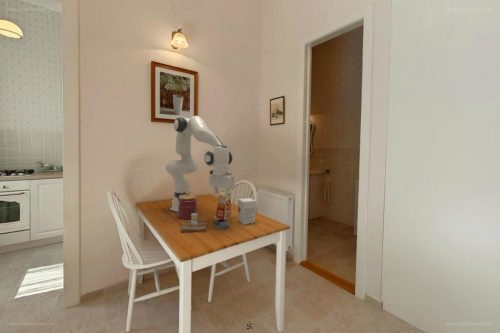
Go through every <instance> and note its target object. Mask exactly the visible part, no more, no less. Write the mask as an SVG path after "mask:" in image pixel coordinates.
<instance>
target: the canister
mask: <svg viewBox="0 0 500 333" xmlns="http://www.w3.org/2000/svg"><path fill="white" fill-rule="evenodd" d="M179 198H180V199H179V200H178V202H179V205H178V213H177V214H178V215H177V216H178V219H180V220H191V214H192V213H197V214H198V203H197V202H198V199H197V195H195V194H192V193H191V192H190V193H189V192H187V193H186V194H185V195H182V196H180V197H179Z"/></svg>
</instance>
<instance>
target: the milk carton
mask: <svg viewBox="0 0 500 333" xmlns="http://www.w3.org/2000/svg"><path fill="white" fill-rule="evenodd" d="M226 191H227V190H224V189H223V188H222V189H220V191H219V194H218V197H217V201H216V202H217V203H216V208H215V214H214V215H215V216H214V219H215V220H218V219H225V220H228V221H229V220H230V219H232V201H231V191H230V192H229V196H225V193H226Z"/></svg>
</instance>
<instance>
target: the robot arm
mask: <svg viewBox="0 0 500 333" xmlns="http://www.w3.org/2000/svg"><path fill="white" fill-rule="evenodd" d="M173 128H174V131H175V132H176V138H175V153H176V154H177V155H178V156H180V159H173V160H170V161H168V162H167V163H166V164H165V170H166V173H167V174H169V175H170V176H171V177H172V179H173V182H174V193H173V196H174V198H172V200H171V202H172V203H171V204H172V205H171V207H170V208H169V211H173V212H178V205H179V202H178V200H179V199H180V198H179V197H180V196H182V195H185V194H186V193H187V192H189V193H190V194H191V190H190V189H191V186H190V184H191V183H190V181H189V180H188V179H187V178H186V177H185V174H187V175H189V174H193V173H195V172H197V170H198V168H199V167H198V163H197V162H196V161H195V160H194V158H193V156H192V149H191V148H192V136H193V137H194V139H195V140H196V141H198V142H201V143H205V144H208V145H210V146H212V147H213V148H212V149H210V150H208V151H207V152H205V154H204V158H203V159H204V162H205V164H206V165H207V166H211V167H214V168H213V169H211V170H209V171H208V172H209V173H208V174H209V180H208V181H209V186H210V187H213V189H214V193H215V195H219V194H220V191H219V190H218V188H222V189H225V191H226V193H225V196H229V192H231V190H234V189H235V187H236V184H235V177H234V174H233V173H232V172H230V165H231V163H232V162H233V155H232V153H231V152H230V150H229V147H228V146H227V145H224V144H223V142H222V141H221V139H219V137H218V136H217V135H216V134H214V132H212V131H211V130H210V128H208V125H207V124H206V122H205V121H204V119H203V118H202V117H201V116H199V115H193V116H191V117H189V118H188V117H177V118H175V120H174V121H173Z"/></svg>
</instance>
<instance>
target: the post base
mask: <svg viewBox="0 0 500 333" xmlns="http://www.w3.org/2000/svg"><path fill="white" fill-rule="evenodd" d="M200 232H203V233H204V232H207V220H205V221H204V220H203V221H200V220H199V221H198V212H197V213H192V214H191V219H190V221H184V222H183V223H182V225H181V228H180V233H182V234H183V233H200Z"/></svg>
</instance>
